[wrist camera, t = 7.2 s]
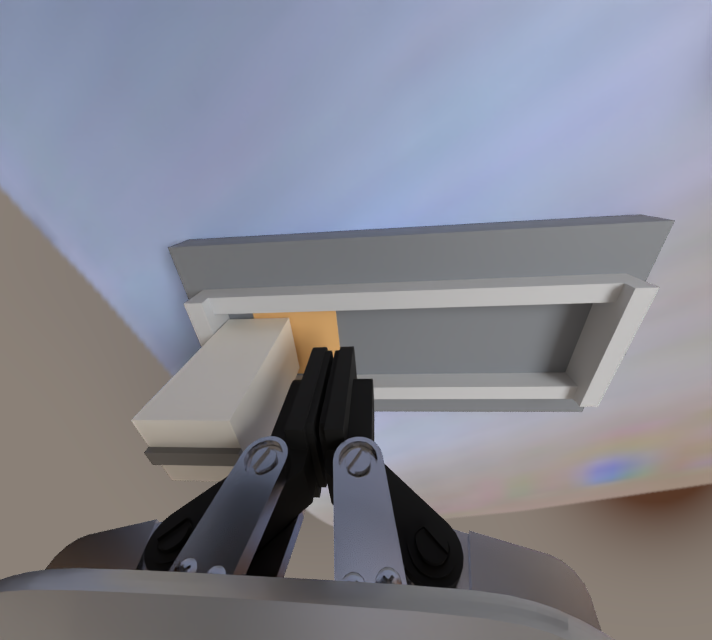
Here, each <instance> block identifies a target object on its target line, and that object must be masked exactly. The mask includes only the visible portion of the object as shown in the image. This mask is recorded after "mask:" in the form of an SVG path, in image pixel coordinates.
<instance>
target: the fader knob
mask: <svg viewBox="0 0 712 640" xmlns="http://www.w3.org/2000/svg"><path fill="white" fill-rule="evenodd" d="M299 368H300V367H299V362H298V357H297V353H296V348H295V343H294V339H293V334H292V329H291V325H290V320H289V318H260V319H229V320H228V321H227V322H226V323H225V324H224V325H223V326H222V327H221V328H220V329H219V330H218V331H217V332H216V333H215V334H214V335H213V336H212V337H211V338H210V339H209V340H208V341H207V342H206V343H205V344H204V345H203V346H202V347H201V348H200V349H199V350H198V351H197V352H196V353H195V355H194V356H193V357H192V358H191V359H190V360H189V361H188V362H187V363H186V364H185V365H184V366H183V367H182V368H181V369H180V370H179V371H178V372H177V373H176V374H175V375H174V376H173V377H172V378H171V379H170V380H169V381H168V382H167V383H166V384H165V385H164V387H163V388H161V390H160V391H159V392H158V393H157V394H156V395H155V396H154V397H153V398H152V399H151V400H150V401H149V402H148V403H147V404H146V405H145V406H144V407H143V408H142V409H141V410H140V411H139V412H138V413H137V414H136V415H135V416H134V417H133V419H132V420H131V421H132V423H133V424H134V426H135V427H136V429H137V430H138V431H139V433H140V434H141V436H142V437H143V439H144V440H145V442H146V443H147V445H148V446H149V447H148V449H147V450H146V451H145V452H144V453H145V455H146V456H147V458H148V459H149V460H150V461H151V463H152V464H153V465H162V467H163V468H164V470H165V471H166V473H167V474H168V475H169V477H170V478H171V480H175V481H216V482H220V481H221V480H223V479H224V478H226V477H227V476H228V475H229V473H230V472H231V470H232V469H233V467H234V465H235V464H236V462H237V461H238V459H239V457H240V456H241V454H242V453H243V452H244V450H245V449H246V448H247V447H248V446H249V445H250V444H251V443H253V442H254V441H256V440H258V439H260V438H263V437H267V436H271V434H272V431H273V429H274V426H275V424H276V421H277V418H278V416H279V413H280V411H281V408H282V406H283V403H284V401H285V398H286V395H287V393H288V390H289V388H290V385H291V383H292V381H293V380H295V378H296V376H297V373H298V370H299Z"/></svg>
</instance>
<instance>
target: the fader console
mask: <svg viewBox="0 0 712 640" xmlns="http://www.w3.org/2000/svg"><path fill="white" fill-rule="evenodd" d="M674 222H675V220H669V219H663V218H658V217H652V216H646V215H622V216H604V217H586V218H568V219H550V220H533V221H515V222H497V223H479V224H461V225H443V226H425V227H407V228H389V229H372V230H354V231H336V232H318V233H300V234H282V235H264V236H246V237H228V238H210V239H193V240H187V241H184V242H182V243H179V244H176V245H174V246H171V247H168V249H169V251H170V254H171V256H172V259H173V261H174V264H175V266H176V269H177V271H178V274H179V276H180V279H181V281H182V284H183V286H184V289H185V291H186V294H187V296H188V299H189V300H188V301H187V302H185V303H184V306H185V309H186V311H187V313H188V316H189V318H190V321H191V323H192V325H193V328H194V330H195V332H196V335H197V337H198V340H199V342H200V344H201V347H202V346H203V345H204V344H205V343H206V342H207V341H208V340H209V339H210V338H211V337H212V336H213V335H214V334H215V333H216V332H217V331H218V330H219V329H220V328H221V327H222V326H223V325H224V324H225V323H226V322H227V321H228V320H229V319H260V318H289V320H290V325H291V329H292V334H293V339H294V343H295V348H296V353H297V357H298V362H299V367H300V368H299V370H298V373H297V376H296V378H295V380H302V377H303V374H304V371H305V369H306V366H307V363H308V360H309V357H310V354H311V351H312V349H313V347H327V349H328V351H330V350H332V352H333V358H334V353H335V350H340V347H349V346H354V350H355V361H356V372H357V379H373V388H374V411H449V412H582V411H583V409H584V407H598V405H599V403H600V401H601V400H602V398H603V396H604V394H605V392H606V390H607V388H608V386H609V384H610V382H611V380H612V378H613V376H614V374H615V373H616V371H617V369H618V367H619V365H620V363H621V361H622V359H623V357H624V355H625V353H626V351H627V349H628V347H629V346H630V344H631V342H632V340H633V338H634V336H635V334H636V332H637V330H638V328H639V326H640V324H641V322H642V320H643V319H644V317H645V315H646V313H647V311H648V309H649V307H650V305H651V303H652V301H653V299H654V297H655V295H656V293H657V292H658V290H659V288H660V287H657V286H655V285H653V284H650V283H648V282H645V281H646V279H647V277H648V275H649V273H650V271H651V269H652V267H653V265H654V263H655V261H656V259H657V257H658V255H659V252H660V250H661V248H662V246H663V244H664V242H665V240H666V238H667V236H668V234H669V232H670V230H671V228H672V226H673V224H674Z"/></svg>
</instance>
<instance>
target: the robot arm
mask: <svg viewBox="0 0 712 640" xmlns="http://www.w3.org/2000/svg"><path fill="white" fill-rule="evenodd" d="M327 484H328V488H329V493H330V498H331V502H332V504H333V505H334V564H335V565H334V567H335V568H334V569H335V581H333V580H317V579H298V578H297V579H296V578H284V575H285V572H286V569H287V566H288V564H289V561H290V558H291V554H292V552H293V549H294V546H295V543H296V540H297V537H298V534H299V531H300V528H301V525H302V522H303V519H304V515H305V509H306V508H307V507H308V506H309V505H310V504H311V503H312V502H313V497H320V493H321V487H326V486H327ZM0 640H614V639H613V638H611V637H610V636H608V635H607V634H605V633H603V632H602V631H601V628H600V625H599V621H598V618H597V615H596V612H595V609H594V606H593V602H592V599H591V597H590V595H589V593H588V590H587V588H586V586H585V584H584V583H583V582H582V580H581V579H580V578H579V576H578V575H577V574H576V572H575V571H574V570H573V569H572V568H570V567H569V566H568V565H567V564H566V563H564V562H563V561H562V560H560V559H558V558H556V557H554V556H552V555H549V554H546V553H542V552H539V551H536V550H532V549H529V548H526V547H523V546H519V545H515V544H512V543H509V542H506V541H502V540H498V539H495V538H492V537H489V536H485V535H482V534H478V533H475V532H472V531H469V534H467V533H463V532H460V531H457V530H454V529H452V528H451V526H450V525H449V524H448V523H447V522H446V521H445V520H444V519H443V518H442V517H441V516H439V515H438V514H437V513H436V512H435V511H434V510H433V509H432V508H431V507H430V506H429V505H428V504H427V503H426V502H425V501H423V500H422V499H421V498H420V497H419V496H418V495H417V494H416V493H415V492H414V491H413V490H412V489H411V488H410V487H409V486H407V485H406V484H405V483H404V482H403V481H402V480H401V479H400V478H399V477H398V476H397V475H396V474H395V473H394V472H393V471H392V470H390V469H389V468H388V467H387V466H386V465H385V464H384V460H383V455H382V452H381V449H380V448H379V446H378V445H377V444H376V443H375V442H374V388H373V379H357V372H356V361H355V350H354V346H349V347H340V350H335V353H334V358H333V352H332V350H330V351H328V349H327V347H313V349H312V351H311V354H310V357H309V360H308V363H307V366H306V369H305V371H304V374H303V377H302V380H293V381H292V383H291V385H290V388H289V390H288V393H287V395H286V398H285V401H284V403H283V406H282V408H281V411H280V413H279V416H278V418H277V421H276V424H275V426H274V429H273V431H272V434H271V436H267V437H263V438H260V439H258V440H256V441H254V442H253V443H251V444H250V445H249V446H248V447H247V448H246V449H245V450H244V452H243V453H242V454H241V456H240V457H239V459H238V461H237V462H236V464H235V465H234V467H233V469H232V470H231V472H230V473H229V475H228V476H227V477H226V478H224V479H223V480H221V481H220V482H218V483H217V484H215V485H214V486H212V487H211V488H209V489H208V490H206V491H205V492H204V493H202V494H201V495H199V496H198V497H196V498H195V499H193V500H192V501H190V502H189V503H188V504H186V505H185V506H183V507H182V508H180V509H179V510H177V511H176V512H174V513H173V514H171V515H170V516H169V517H168V518H166V519H165V520H164V521H163V522H159V521H158V520H152V521H147V522H143V523H139V524H134V525H129V526H125V527H120V528H116V529H112V530H107V531H103V532H98V533H94V534H89V535H86V536H84V537H81V538H78V539H77V540H75V541H74V542H72V543H71V544H69V545H68V546H66V547H65V548H64V549H63V550H62V551H61V552H59V553H58V554H57V555H56V556H55V557H54V559H53V560H52V561H51V562H50V564H49V565H48V566H47V567H46V569H45V570H39V571H32V572H26V573H22V574H18V575H13V576H10V577H7V578H4V579H1V580H0Z"/></svg>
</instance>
